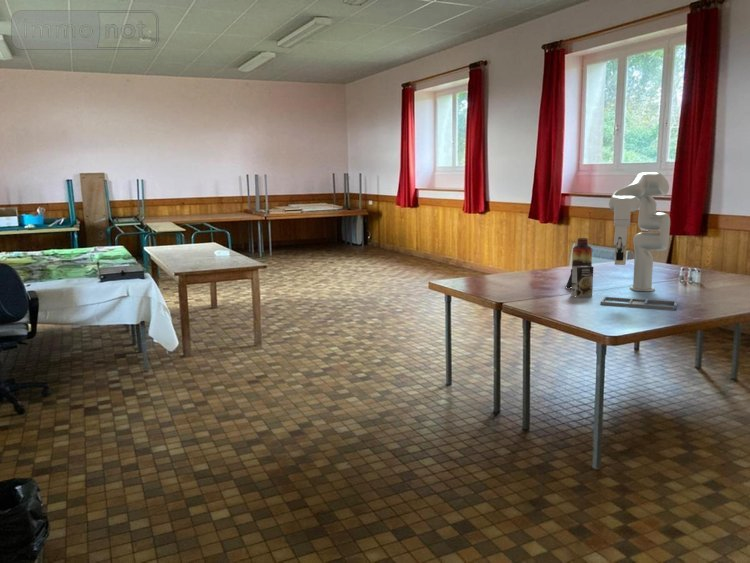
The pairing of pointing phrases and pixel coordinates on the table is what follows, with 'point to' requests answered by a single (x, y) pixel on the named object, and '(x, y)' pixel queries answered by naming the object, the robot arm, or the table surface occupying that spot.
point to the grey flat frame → (639, 303)
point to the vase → (582, 253)
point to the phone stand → (569, 281)
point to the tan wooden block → (618, 262)
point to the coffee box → (582, 281)
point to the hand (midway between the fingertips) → (620, 259)
